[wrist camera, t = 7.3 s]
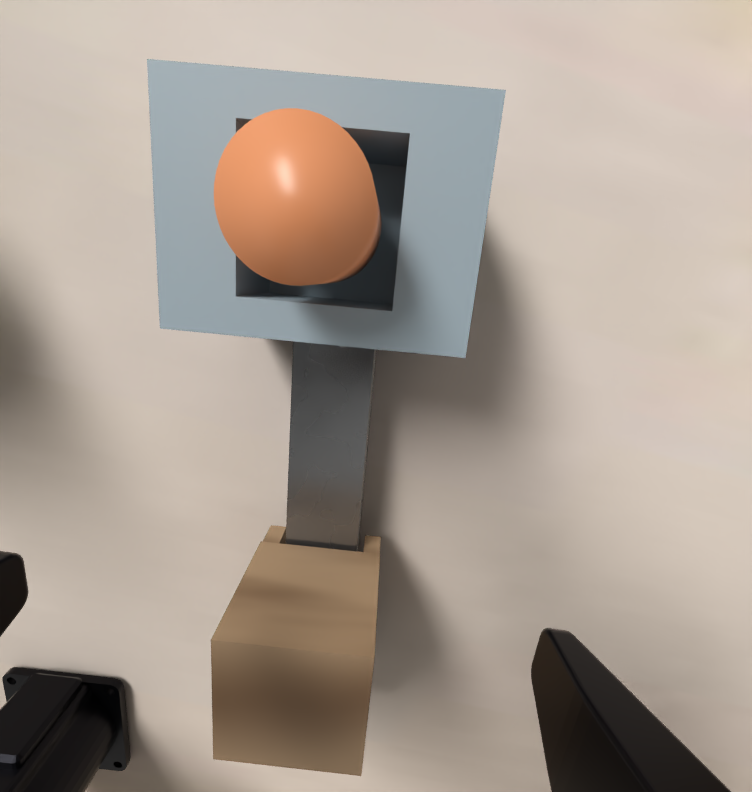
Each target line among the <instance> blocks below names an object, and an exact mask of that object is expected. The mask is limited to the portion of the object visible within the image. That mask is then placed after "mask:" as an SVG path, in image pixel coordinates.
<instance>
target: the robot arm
mask: <svg viewBox="0 0 752 792" xmlns="http://www.w3.org/2000/svg"><path fill="white" fill-rule="evenodd" d="M27 597H28V586H27V579H26V573H25V567H24V561H23V558H22V557H21V556H20V555H19V554H17V553H11V552H3V551H0V636H1V635H2V634H3V633H4V631H5V630H6V629H7V627H8V626H9V625H10V623H11V622H12V621H13V619H14V618H15V617H16V616H17V614H18V613H19V612H20V610H21V609H22V608H23V606H24V604H25V602H26V600H27ZM531 678H532V685H533V691H534V696H535V702H536V708H537V713H538V719H539V725H540V730H541V736H542V742H543V748H544V753H545V759H546V765H547V770H548V776H549V781H550V786H551V791H552V792H731V791H730V790H729V789H728V788H727V787H726V786H725V785H724V784H723V783H722V782H721V781H720V780H719V779H718V778H717V777H716V776H715V775H714V774H713V773H712V772H711V771H710V770H709V769H708V768H707V767H706V766H705V765H704V764H703V763H702V762H701V761H700V760H699V759H698V758H697V757H696V756H695V755H694V754H693V753H692V752H691V751H690V750H689V749H688V748H687V747H686V746H685V745H684V744H683V743H682V742H681V741H680V740H679V739H678V738H677V737H676V736H675V735H674V734H673V733H672V732H671V731H670V730H669V729H668V728H667V727H666V726H665V725H664V724H663V723H662V722H661V721H660V720H658V719H657V718H656V717H655V716H654V715H653V714H652V713H651V712H650V711H649V710H648V709H647V708H646V707H645V706H644V705H643V704H642V703H641V702H640V701H639V700H638V699H637V698H636V697H635V696H634V695H633V694H632V693H631V692H630V691H629V690H628V689H627V688H626V687H625V686H624V685H623V684H622V683H621V682H620V681H619V680H618V679H617V678H616V677H615V676H614V675H613V674H612V673H611V672H610V671H609V670H608V669H607V668H606V667H605V666H604V665H603V664H602V663H601V662H600V661H599V660H598V659H597V658H596V657H595V656H594V655H593V654H592V653H591V652H590V651H589V650H588V649H587V648H586V647H585V646H584V645H583V644H582V643H581V642H580V641H579V640H578V639H577V638H576V637H575V636H574V635H573V634H572V633H570V632H568V631H566V630H559V629H552V628H546V629H544V630H543V631H542V633H541V635H540V638H539V642H538V645H537V648H536V652H535V655H534V659H533V662H532V668H531ZM3 685H4V690H5V696H6V701H7V703H6V704H5V705H4V706H3V707H2V708H1V709H0V792H85V790H86V788H87V787H88V785H89V783H90V782H91V780H92V778H93V777H94V775H95V773H96V772H97V770H98V769H106V770H115V771H122V770H125V768H126V767H127V765H128V763H129V761H130V748H129V737H128V726H127V716H126V705H125V694H124V685H123V683H122V682H121V681H120V680H118V679H115V678H108V677H99V676H90V675H81V674H72V673H63V672H54V671H45V670H36V669H27V668H18V667H13V668H11V669H10V670H9V671H8V672H7V673H6V674H5V675H4V676H3Z"/></svg>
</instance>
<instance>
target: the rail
mask: <svg viewBox="0 0 752 792" xmlns="http://www.w3.org/2000/svg"><path fill="white" fill-rule="evenodd" d="M375 359H376V349H367V348H357V347H347V346H336V345H326V344H316V343H306V342H295V341H293V365H292V391H291V418H290V445H289V471H288V498H287V524H286V544H290V545H300V546H309V547H319V548H328V549H338V550H347V551H357V552H358V545H359V534H360V523H361V512H362V501H363V490H364V479H365V468H366V457H367V446H368V435H369V425H370V414H371V403H372V392H373V381H374V370H375Z"/></svg>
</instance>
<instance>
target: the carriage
mask: <svg viewBox="0 0 752 792" xmlns="http://www.w3.org/2000/svg"><path fill="white" fill-rule="evenodd" d="M380 541H381V537H377V536H367V535H365V542H364V551H363V552H357V551H347V550H338V549H328V548H319V547H309V546H300V545H290V544H286V527H281V526H272V525H271V526H270V528H269V530H268V532H267V534H266V536H265V538H264V540H263V542H262V541H261V542H260V544H259V546H258V548H257V550H256V552H255V554H254V556H253V558H252V560H251V562H250V564H249V566H248V568H247V570H246V572H245V574H244V576H243V578H242V580H241V582H240V584H239V586H238V588H237V590H236V592H235V594H234V596H233V598H232V600H231V601H230V603H229V605H228V607H227V609H226V611H225V613H224V615H223V617H222V619H221V621H220V623H219V625H218V627H217V629H216V631H215V633H214V635H213V637H212V639H211V664H212V716H213V759H217V760H226V761H235V762H243V763H252V764H261V765H270V766H279V767H287V768H296V769H305V770H314V771H322V772H331V773H340V774H349V775H358V776H361V773H362V764H363V755H364V746H365V737H366V729H367V720H368V711H369V702H370V693H371V684H372V676H373V667H374V658H375V639H376V620H377V602H378V583H379V564H380Z"/></svg>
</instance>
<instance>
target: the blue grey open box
mask: <svg viewBox="0 0 752 792" xmlns="http://www.w3.org/2000/svg"><path fill="white" fill-rule="evenodd" d="M147 67H148V88H149V109H150V130H151V150H152V171H153V192H154V213H155V234H156V254H157V275H158V296H159V317H160V328H161V329H172V330H182V331H192V332H203V333H213V334H223V335H233V336H244V337H254V338H264V339H275V340H285V341H295V342H306V343H316V344H326V345H336V346H347V347H357V348H367V349H378V350H388V351H398V352H408V353H419V354H429V355H439V356H450V357H460V358H466V351H467V344H468V338H469V331H470V324H471V318H472V311H473V304H474V298H475V291H476V285H477V278H478V271H479V265H480V258H481V251H482V245H483V238H484V231H485V225H486V218H487V211H488V205H489V198H490V191H491V185H492V178H493V171H494V165H495V158H496V151H497V145H498V138H499V131H500V125H501V118H502V111H503V105H504V98H505V92H506V90H499V89H488V88H476V87H465V86H453V85H442V84H430V83H419V82H407V81H395V80H384V79H372V78H361V77H349V76H338V75H326V74H314V73H303V72H291V71H280V70H268V69H257V68H245V67H234V66H222V65H210V64H199V63H187V62H176V61H164V60H153V59H147ZM284 108H298V109H304V110H310V111H313V112H316V113H319V114H321V115H323V116H325V117H327V118H329V119H331V120H332V121H334V122H335V123H337V124H338V125H340V126H341V127H342V128H343V129H344V130H345V131H347V132H348V133H349V134H350V136H351V137H352V138H353V139H354V140H355V141H356V143H357V144H358V146H359V147H360V149H361V150H362V152H363V154H364V156H365V158H366V160H367V162H368V164H369V167H370V170H371V173H372V177H373V181H374V186H375V190H376V195H377V199H378V204H379V208H380V213H381V222H382V225H381V236H380V240H379V244H378V247H377V249H376V252H375V254H374V255H373V257H372V259H371V260H370V261H369V263H368V264H367V265H366V266H365V267H364V268H363V269H362V270H361V271H360V272H359V273H357V274H356V275H354V276H353V277H351V278H349V279H346V280H344V281H340V282H336V283H327V284H315V285H304V286H294V285H286V284H280V283H277V282H274V281H271V280H269V279H266V278H264V277H262V276H260V275H259V274H257V273H255V272H254V271H252V270H251V269H250V268H249V267H247V266H246V265H245V264H244V263H243V262H242V261H241V260H240V259H239V258H238V257H237V256H236V254H235V253H234V252H233V251H232V249H231V248H230V246H229V245H228V243H227V241H226V240H225V238H224V236H223V233H222V231H221V229H220V226H219V223H218V220H217V216H216V211H215V206H214V181H215V175H216V170H217V167H218V163H219V160H220V158H221V156H222V153H223V151H224V149H225V148H226V146H227V144H228V143H229V141H230V140H231V138H232V137H233V136H234V135H235V134H236V132H237V131H238V130H239V129H241V128H242V127H243V126H244V125H245V124H246V123H248V122H249V121H251V120H252V119H254V118H255V117H257V116H259V115H262V114H264V113H266V112H270V111H273V110H277V109H284Z"/></svg>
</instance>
